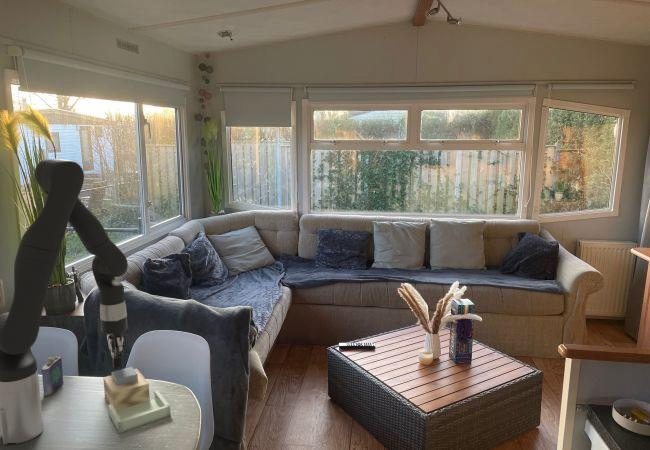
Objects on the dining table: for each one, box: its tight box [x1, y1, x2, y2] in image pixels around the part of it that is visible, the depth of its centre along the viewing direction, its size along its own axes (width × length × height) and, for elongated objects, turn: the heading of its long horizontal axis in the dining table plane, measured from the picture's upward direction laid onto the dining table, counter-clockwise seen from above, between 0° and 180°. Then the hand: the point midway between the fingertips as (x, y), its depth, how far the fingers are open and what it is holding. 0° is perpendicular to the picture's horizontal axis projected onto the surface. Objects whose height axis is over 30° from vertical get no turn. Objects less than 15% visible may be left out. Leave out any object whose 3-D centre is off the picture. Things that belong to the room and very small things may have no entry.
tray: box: [108, 389, 171, 434], centre depth 135 cm, size 14×11×3 cm
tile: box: [110, 366, 138, 386], centre depth 144 cm, size 6×6×2 cm
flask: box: [41, 356, 64, 397], centre depth 149 cm, size 9×3×11 cm, turn 2°
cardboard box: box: [102, 368, 150, 411], centre depth 144 cm, size 10×12×6 cm
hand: (117, 367), depth 150 cm, fingers closed
